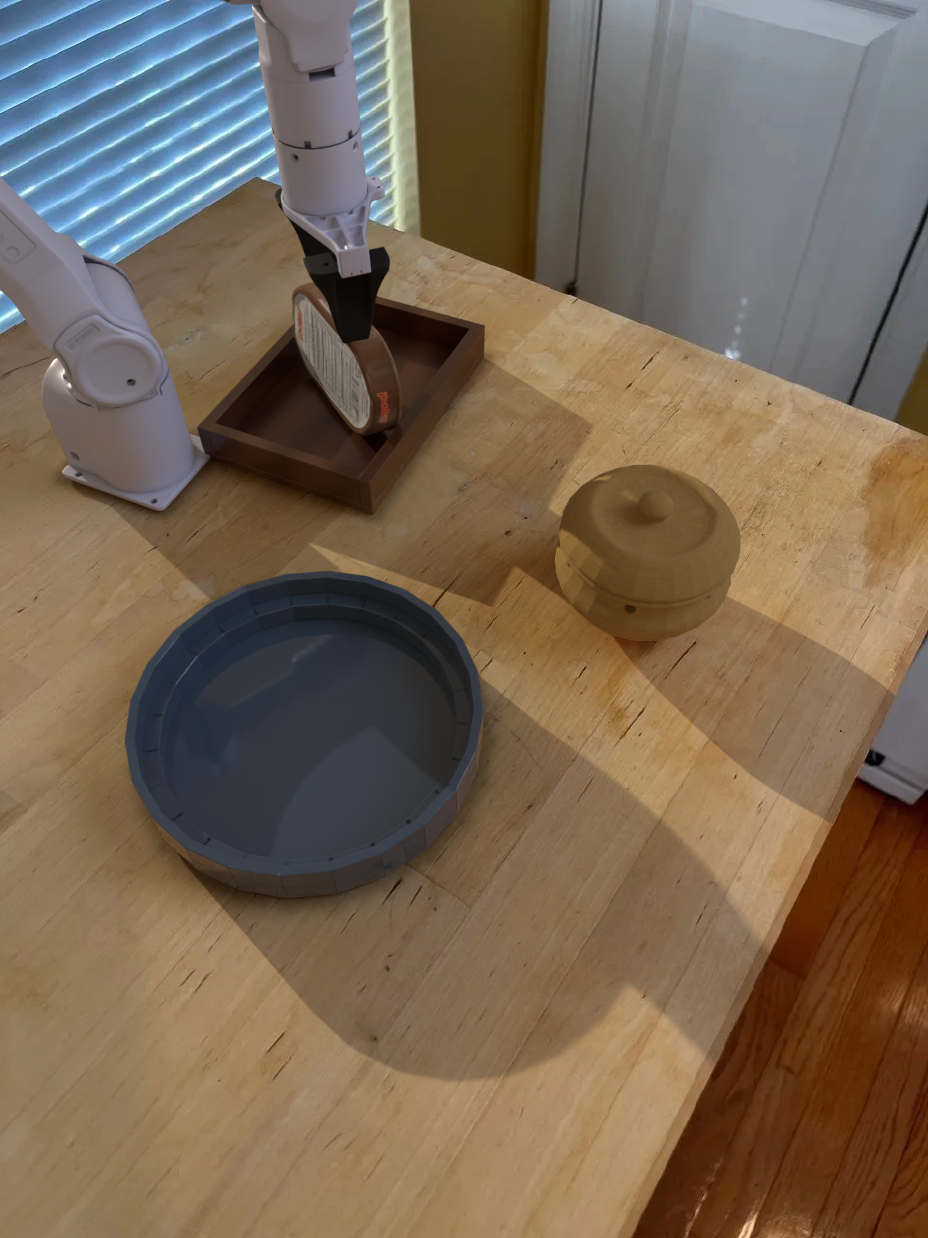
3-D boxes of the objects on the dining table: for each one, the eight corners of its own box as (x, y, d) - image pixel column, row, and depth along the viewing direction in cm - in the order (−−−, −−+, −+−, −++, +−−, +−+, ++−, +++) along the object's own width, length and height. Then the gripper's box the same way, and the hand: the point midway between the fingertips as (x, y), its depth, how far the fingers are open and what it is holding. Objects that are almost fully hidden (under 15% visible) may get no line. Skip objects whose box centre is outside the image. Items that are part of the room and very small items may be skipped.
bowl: (69, 812, 56) (49, 785, 53) (259, 566, 68) (250, 533, 65) (385, 961, 51) (381, 939, 48) (532, 666, 62) (535, 635, 60)
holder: (205, 458, 75) (196, 426, 72) (335, 315, 86) (330, 283, 84) (373, 515, 71) (369, 483, 68) (484, 357, 82) (485, 324, 80)
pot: (730, 556, 68) (765, 454, 60) (705, 685, 61) (741, 589, 54) (572, 521, 70) (586, 417, 62) (532, 641, 64) (541, 542, 56)
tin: (400, 450, 74) (411, 357, 68) (365, 459, 73) (372, 365, 66) (318, 349, 82) (321, 257, 76) (285, 355, 81) (285, 262, 74)
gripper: (409, 169, 57) (421, 353, 68) (347, 69, 65) (366, 248, 76) (295, 191, 56) (326, 375, 67) (247, 86, 64) (281, 265, 75)
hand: (341, 309), depth 71 cm, fingers open, 7 cm apart
